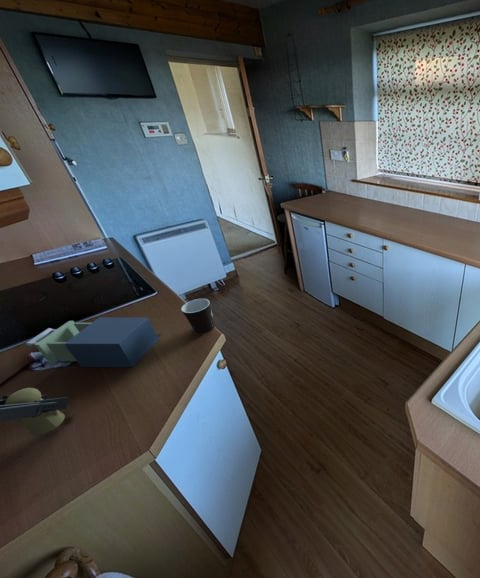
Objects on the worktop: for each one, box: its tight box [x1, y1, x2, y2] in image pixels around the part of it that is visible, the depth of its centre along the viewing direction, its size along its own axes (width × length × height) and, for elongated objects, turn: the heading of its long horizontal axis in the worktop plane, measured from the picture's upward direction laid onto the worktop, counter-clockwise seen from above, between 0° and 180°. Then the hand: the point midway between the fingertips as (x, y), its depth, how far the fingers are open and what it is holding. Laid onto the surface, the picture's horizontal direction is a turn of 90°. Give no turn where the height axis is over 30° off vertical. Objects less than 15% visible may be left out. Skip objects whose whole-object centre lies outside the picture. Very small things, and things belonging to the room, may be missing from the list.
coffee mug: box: [181, 298, 215, 335], centre depth 105 cm, size 12×9×10 cm
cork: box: [5, 387, 66, 437], centre depth 68 cm, size 6×6×11 cm
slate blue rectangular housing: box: [65, 316, 160, 368], centre depth 92 cm, size 16×13×10 cm
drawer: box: [25, 320, 92, 365], centre depth 92 cm, size 20×11×8 cm, turn 91°
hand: (55, 401), depth 72 cm, fingers closed on cork, 5 cm apart
